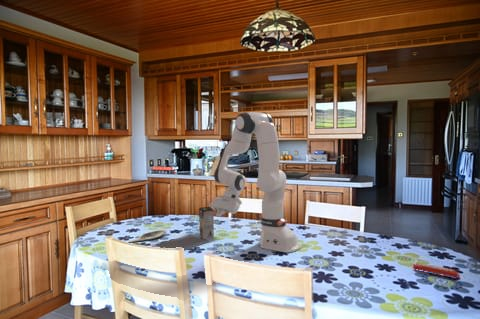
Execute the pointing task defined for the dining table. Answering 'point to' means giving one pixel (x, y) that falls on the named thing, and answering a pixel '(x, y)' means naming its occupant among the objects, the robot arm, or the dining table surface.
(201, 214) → the coffee box
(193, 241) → the rubber mat
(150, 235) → the spoon
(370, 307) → the dining table surface
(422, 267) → the sausage
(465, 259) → the dining table surface
